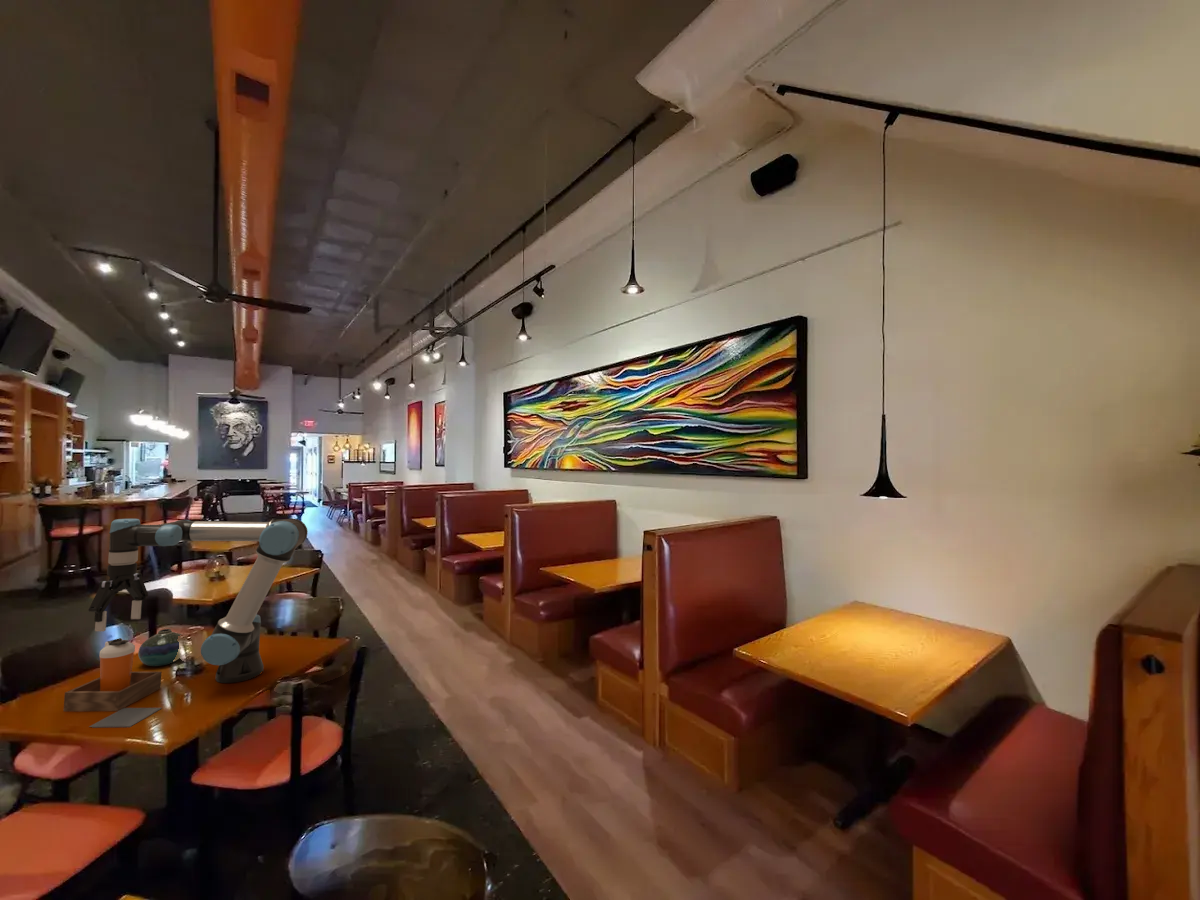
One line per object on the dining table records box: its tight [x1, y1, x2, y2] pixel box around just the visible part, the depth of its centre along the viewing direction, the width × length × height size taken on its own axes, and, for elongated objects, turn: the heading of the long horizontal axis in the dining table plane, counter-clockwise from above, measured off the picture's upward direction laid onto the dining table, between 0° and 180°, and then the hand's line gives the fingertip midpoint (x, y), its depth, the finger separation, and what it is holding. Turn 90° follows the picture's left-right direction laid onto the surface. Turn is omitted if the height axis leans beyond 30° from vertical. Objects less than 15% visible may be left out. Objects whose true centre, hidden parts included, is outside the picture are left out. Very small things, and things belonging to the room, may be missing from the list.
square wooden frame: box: [63, 671, 162, 712], centre depth 172 cm, size 17×17×6 cm
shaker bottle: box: [98, 637, 136, 691], centre depth 172 cm, size 9×9×20 cm
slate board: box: [88, 707, 163, 729], centre depth 160 cm, size 12×12×1 cm
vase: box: [137, 628, 182, 667], centre depth 203 cm, size 15×15×13 cm
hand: (118, 624), depth 173 cm, fingers open, 13 cm apart
